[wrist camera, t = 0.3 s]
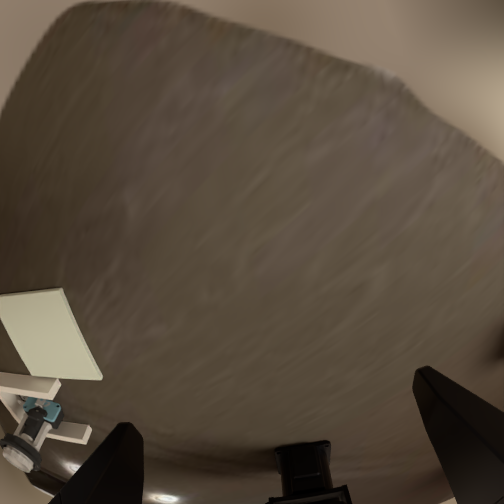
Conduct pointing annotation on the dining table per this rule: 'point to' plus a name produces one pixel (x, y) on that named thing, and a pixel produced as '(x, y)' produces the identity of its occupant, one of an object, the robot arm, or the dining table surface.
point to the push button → (31, 433)
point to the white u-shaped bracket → (38, 387)
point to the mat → (47, 335)
